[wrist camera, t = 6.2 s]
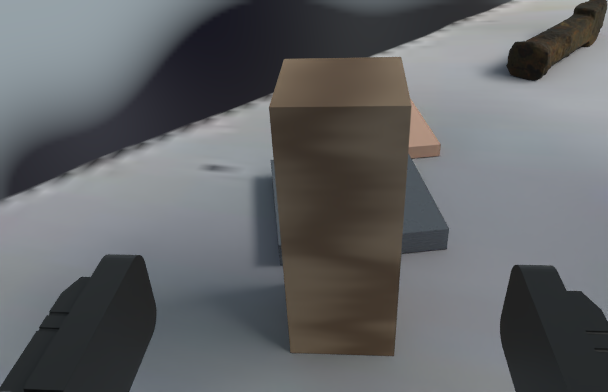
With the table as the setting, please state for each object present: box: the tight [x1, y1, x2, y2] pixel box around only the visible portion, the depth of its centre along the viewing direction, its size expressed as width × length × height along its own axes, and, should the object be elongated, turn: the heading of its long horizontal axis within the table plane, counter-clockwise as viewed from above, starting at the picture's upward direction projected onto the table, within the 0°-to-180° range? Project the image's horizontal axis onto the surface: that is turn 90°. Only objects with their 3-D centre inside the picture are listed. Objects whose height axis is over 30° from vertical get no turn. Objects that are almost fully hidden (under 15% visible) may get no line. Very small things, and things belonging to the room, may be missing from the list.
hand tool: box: [506, 0, 607, 80], centre depth 58 cm, size 19×4×5 cm, turn 133°
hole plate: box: [271, 153, 449, 265], centre depth 36 cm, size 10×10×2 cm
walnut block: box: [269, 57, 412, 356], centre depth 25 cm, size 5×5×13 cm
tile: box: [408, 99, 441, 158], centre depth 45 cm, size 10×10×1 cm
